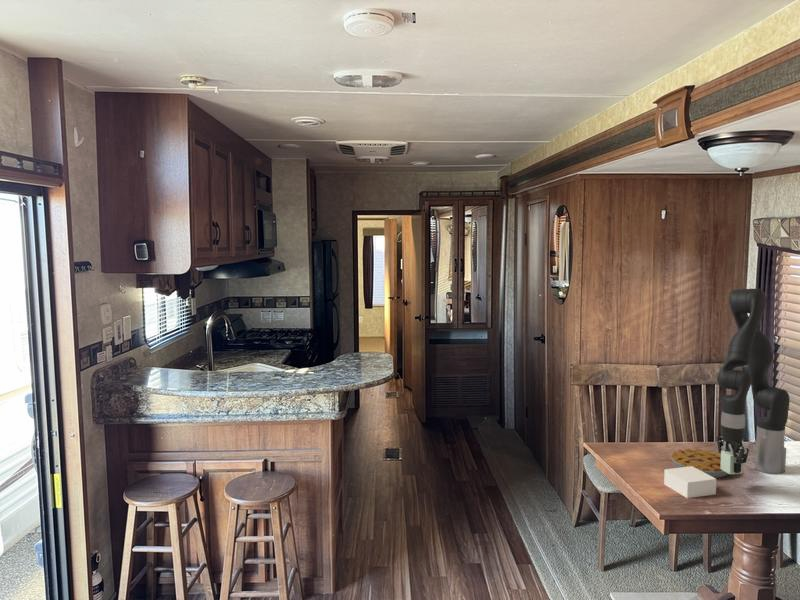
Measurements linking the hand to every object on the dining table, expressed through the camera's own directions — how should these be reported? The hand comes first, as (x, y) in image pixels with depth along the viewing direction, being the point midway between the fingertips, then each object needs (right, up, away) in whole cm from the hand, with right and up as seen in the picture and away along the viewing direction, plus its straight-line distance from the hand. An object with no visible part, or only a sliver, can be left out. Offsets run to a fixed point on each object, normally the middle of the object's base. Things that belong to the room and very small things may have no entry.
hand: (731, 469), depth 205 cm
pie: (0, -6, +20) cm, 21 cm away
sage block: (0, -1, 0) cm, 1 cm away
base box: (-15, -8, +2) cm, 17 cm away
